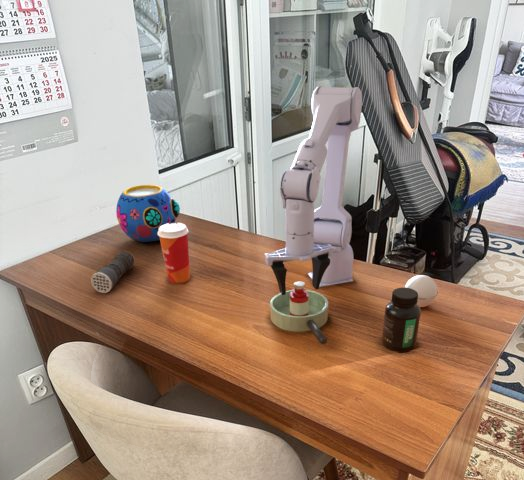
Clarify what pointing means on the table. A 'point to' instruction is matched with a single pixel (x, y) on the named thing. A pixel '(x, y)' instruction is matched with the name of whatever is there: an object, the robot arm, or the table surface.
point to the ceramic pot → (145, 211)
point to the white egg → (423, 289)
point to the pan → (298, 323)
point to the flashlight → (112, 272)
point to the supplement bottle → (401, 321)
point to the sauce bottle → (299, 300)
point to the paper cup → (175, 251)
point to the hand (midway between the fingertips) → (299, 290)
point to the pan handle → (316, 332)
